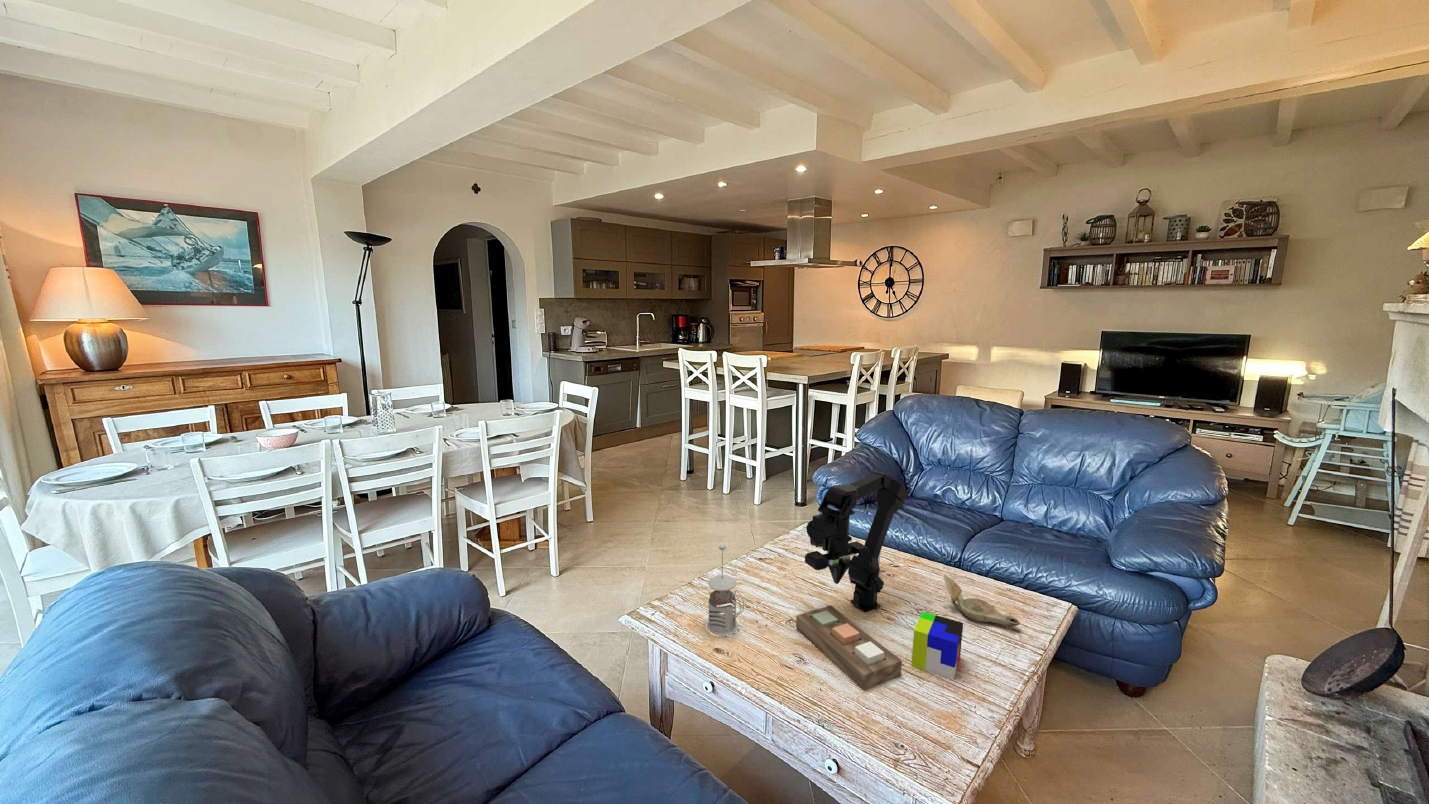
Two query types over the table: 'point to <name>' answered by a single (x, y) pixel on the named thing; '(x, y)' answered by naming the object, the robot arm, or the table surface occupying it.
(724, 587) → the french press
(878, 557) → the drinking glass
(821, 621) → the pale green square block
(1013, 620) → the oil lamp
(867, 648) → the white square block
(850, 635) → the terracotta key
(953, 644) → the puzzle toy
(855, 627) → the key console
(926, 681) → the table surface
